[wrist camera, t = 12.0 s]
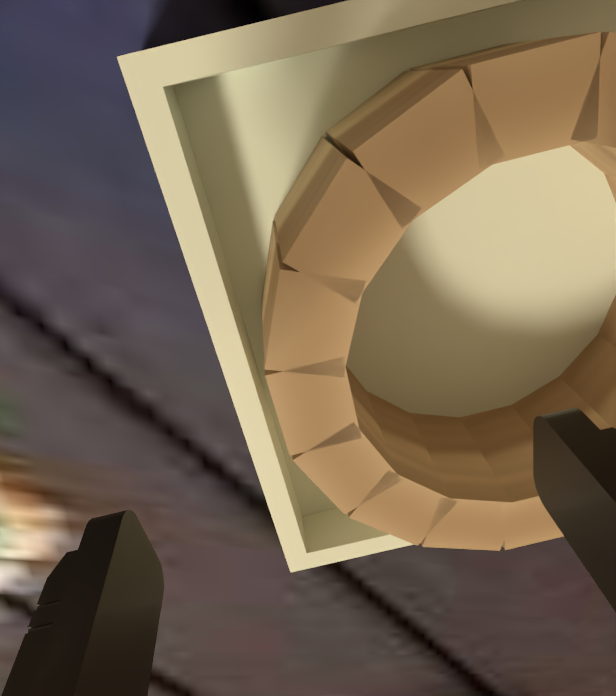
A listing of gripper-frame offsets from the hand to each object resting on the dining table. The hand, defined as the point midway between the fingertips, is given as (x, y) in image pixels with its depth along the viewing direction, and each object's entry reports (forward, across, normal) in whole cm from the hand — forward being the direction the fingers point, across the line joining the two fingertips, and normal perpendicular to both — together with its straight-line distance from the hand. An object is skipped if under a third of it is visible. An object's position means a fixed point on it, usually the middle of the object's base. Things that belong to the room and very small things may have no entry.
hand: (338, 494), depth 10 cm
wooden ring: (+8, -6, 0) cm, 10 cm away
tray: (+9, -6, 0) cm, 11 cm away
